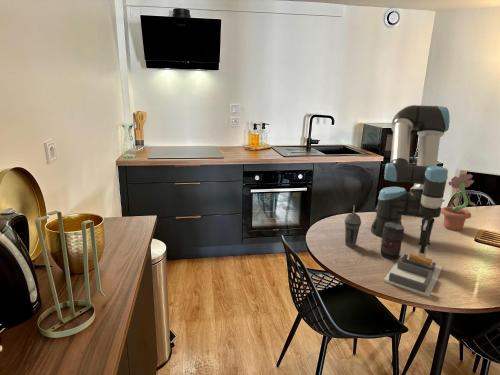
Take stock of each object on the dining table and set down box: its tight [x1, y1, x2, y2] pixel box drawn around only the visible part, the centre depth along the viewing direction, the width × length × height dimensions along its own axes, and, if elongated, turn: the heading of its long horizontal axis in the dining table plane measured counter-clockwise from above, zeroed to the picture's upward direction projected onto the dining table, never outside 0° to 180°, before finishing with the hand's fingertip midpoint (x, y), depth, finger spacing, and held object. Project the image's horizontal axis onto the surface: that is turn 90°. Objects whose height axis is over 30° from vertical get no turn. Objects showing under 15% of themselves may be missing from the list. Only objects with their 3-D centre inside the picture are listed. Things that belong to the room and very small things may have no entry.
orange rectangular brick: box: [408, 253, 433, 266], centre depth 142 cm, size 8×3×3 cm, turn 53°
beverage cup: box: [344, 204, 362, 248], centre depth 158 cm, size 7×7×20 cm
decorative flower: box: [440, 173, 477, 231], centre depth 178 cm, size 15×14×30 cm
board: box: [383, 254, 443, 298], centre depth 136 cm, size 16×24×4 cm, turn 143°
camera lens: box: [380, 222, 405, 260], centre depth 148 cm, size 8×8×15 cm
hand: (421, 258), depth 144 cm, fingers closed
